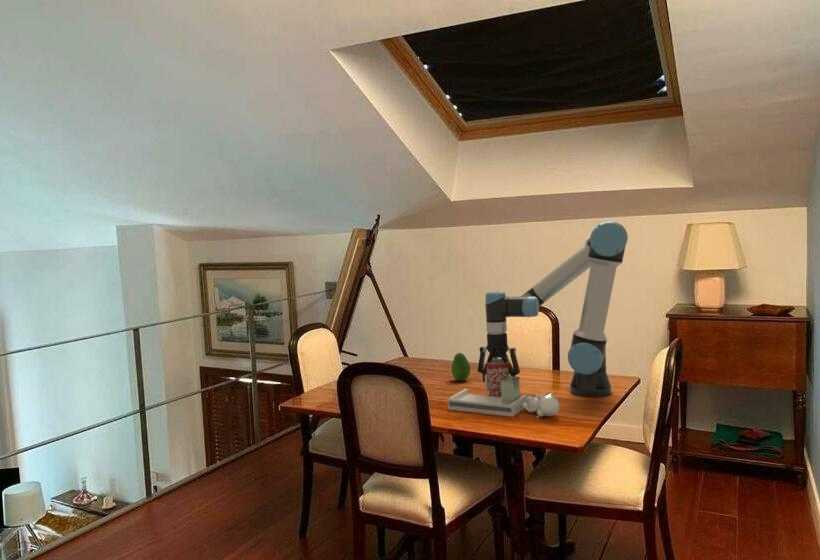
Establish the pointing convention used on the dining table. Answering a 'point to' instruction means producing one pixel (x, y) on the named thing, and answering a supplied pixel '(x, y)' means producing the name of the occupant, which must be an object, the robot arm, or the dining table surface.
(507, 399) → the tea tin
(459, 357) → the avocado
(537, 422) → the dining table surface
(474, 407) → the shelf
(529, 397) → the figurine
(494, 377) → the mug
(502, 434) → the dining table surface
